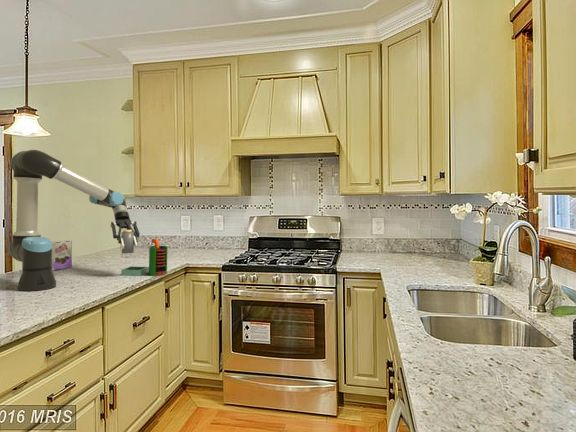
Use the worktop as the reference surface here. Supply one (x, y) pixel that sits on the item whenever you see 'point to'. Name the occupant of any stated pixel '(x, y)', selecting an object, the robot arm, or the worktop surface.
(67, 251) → the candy box
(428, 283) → the worktop surface
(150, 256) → the motor
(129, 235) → the grey cylindrical canister
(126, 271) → the teal square tray
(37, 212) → the robot arm
